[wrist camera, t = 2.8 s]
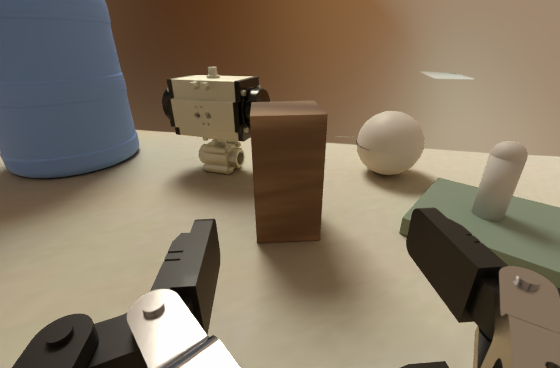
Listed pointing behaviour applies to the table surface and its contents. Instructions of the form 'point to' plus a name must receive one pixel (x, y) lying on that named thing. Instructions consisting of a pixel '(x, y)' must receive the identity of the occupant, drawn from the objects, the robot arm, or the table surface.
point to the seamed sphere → (390, 142)
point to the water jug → (61, 89)
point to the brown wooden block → (288, 169)
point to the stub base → (502, 236)
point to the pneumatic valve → (214, 114)
